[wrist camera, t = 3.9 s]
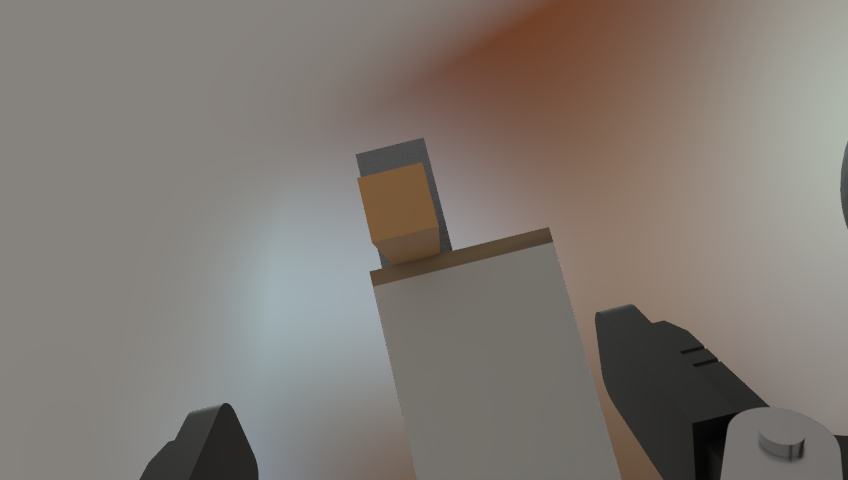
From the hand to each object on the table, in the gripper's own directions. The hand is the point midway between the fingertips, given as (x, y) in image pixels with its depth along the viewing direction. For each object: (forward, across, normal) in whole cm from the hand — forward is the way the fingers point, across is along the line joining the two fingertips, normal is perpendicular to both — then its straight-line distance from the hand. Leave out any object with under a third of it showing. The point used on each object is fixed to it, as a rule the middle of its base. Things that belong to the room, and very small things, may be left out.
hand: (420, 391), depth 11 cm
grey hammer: (+15, 0, +3) cm, 15 cm away
